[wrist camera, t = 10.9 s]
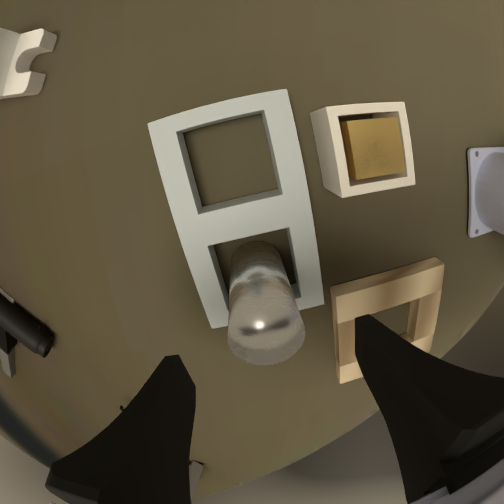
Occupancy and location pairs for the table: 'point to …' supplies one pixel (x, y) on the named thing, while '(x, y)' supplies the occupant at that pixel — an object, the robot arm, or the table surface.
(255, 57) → the table surface
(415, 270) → the wooden square frame
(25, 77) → the cable organizer
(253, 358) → the grey rounded cylinder
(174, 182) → the frame
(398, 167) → the key
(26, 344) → the submachine gun
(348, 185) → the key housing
